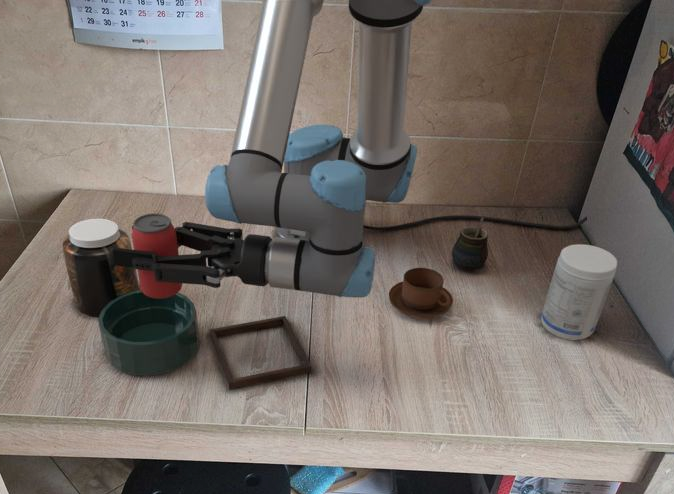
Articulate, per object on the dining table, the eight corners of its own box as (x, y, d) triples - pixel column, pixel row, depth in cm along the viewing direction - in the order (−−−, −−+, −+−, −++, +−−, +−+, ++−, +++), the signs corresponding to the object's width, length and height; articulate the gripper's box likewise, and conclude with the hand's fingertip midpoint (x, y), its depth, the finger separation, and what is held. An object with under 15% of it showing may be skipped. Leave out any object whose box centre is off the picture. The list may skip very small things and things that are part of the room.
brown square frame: (285, 322, 118) (285, 315, 117) (311, 372, 107) (311, 366, 106) (209, 336, 115) (209, 329, 114) (229, 389, 104) (228, 383, 103)
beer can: (174, 303, 101) (165, 234, 93) (134, 298, 102) (122, 229, 94) (188, 280, 106) (180, 214, 98) (150, 275, 107) (139, 209, 99)
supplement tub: (567, 306, 124) (590, 238, 115) (605, 334, 117) (632, 264, 108) (528, 318, 121) (548, 249, 111) (564, 347, 114) (589, 277, 105)
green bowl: (190, 314, 120) (186, 282, 115) (207, 367, 108) (204, 334, 104) (102, 329, 115) (94, 297, 111) (110, 386, 104) (103, 352, 99)
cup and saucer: (458, 297, 126) (463, 270, 122) (441, 331, 117) (446, 303, 113) (399, 282, 129) (402, 255, 125) (379, 313, 121) (382, 286, 117)
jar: (83, 324, 116) (65, 252, 107) (70, 292, 124) (52, 221, 115) (147, 308, 121) (136, 236, 111) (130, 277, 129) (118, 208, 119)
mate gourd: (446, 271, 133) (454, 227, 127) (453, 254, 138) (461, 211, 132) (481, 279, 131) (491, 235, 125) (487, 261, 136) (497, 218, 130)
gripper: (254, 320, 91) (101, 300, 94) (284, 251, 106) (151, 235, 109) (253, 275, 87) (92, 255, 90) (284, 209, 102) (145, 194, 105)
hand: (125, 244), depth 100 cm, fingers closed on beer can, 7 cm apart
